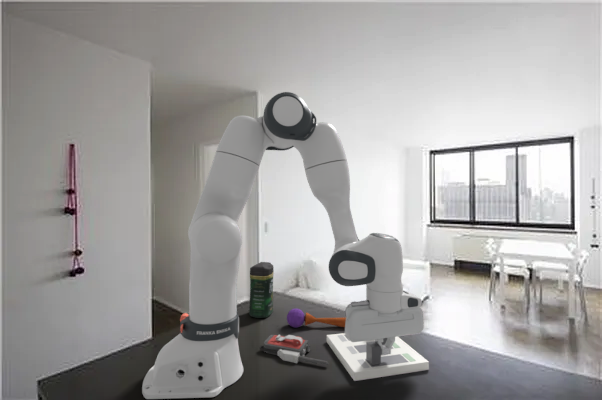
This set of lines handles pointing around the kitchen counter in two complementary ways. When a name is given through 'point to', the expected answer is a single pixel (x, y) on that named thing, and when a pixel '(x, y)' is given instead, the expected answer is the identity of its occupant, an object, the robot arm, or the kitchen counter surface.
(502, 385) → the kitchen counter surface
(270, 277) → the coffee jar
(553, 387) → the kitchen counter surface
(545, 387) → the kitchen counter surface
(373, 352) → the block
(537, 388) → the kitchen counter surface
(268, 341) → the walkie-talkie
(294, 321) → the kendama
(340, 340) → the breaker panel
